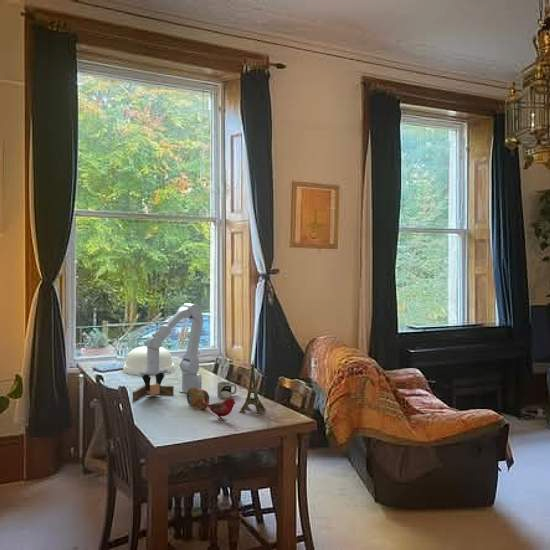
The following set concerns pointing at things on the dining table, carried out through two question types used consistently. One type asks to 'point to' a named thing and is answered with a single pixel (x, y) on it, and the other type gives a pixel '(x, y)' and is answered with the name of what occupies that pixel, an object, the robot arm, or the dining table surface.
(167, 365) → the dome cover
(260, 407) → the eiffel tower
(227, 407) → the decorative bird figurine
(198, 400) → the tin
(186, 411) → the dining table surface
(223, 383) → the mug
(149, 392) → the cube
